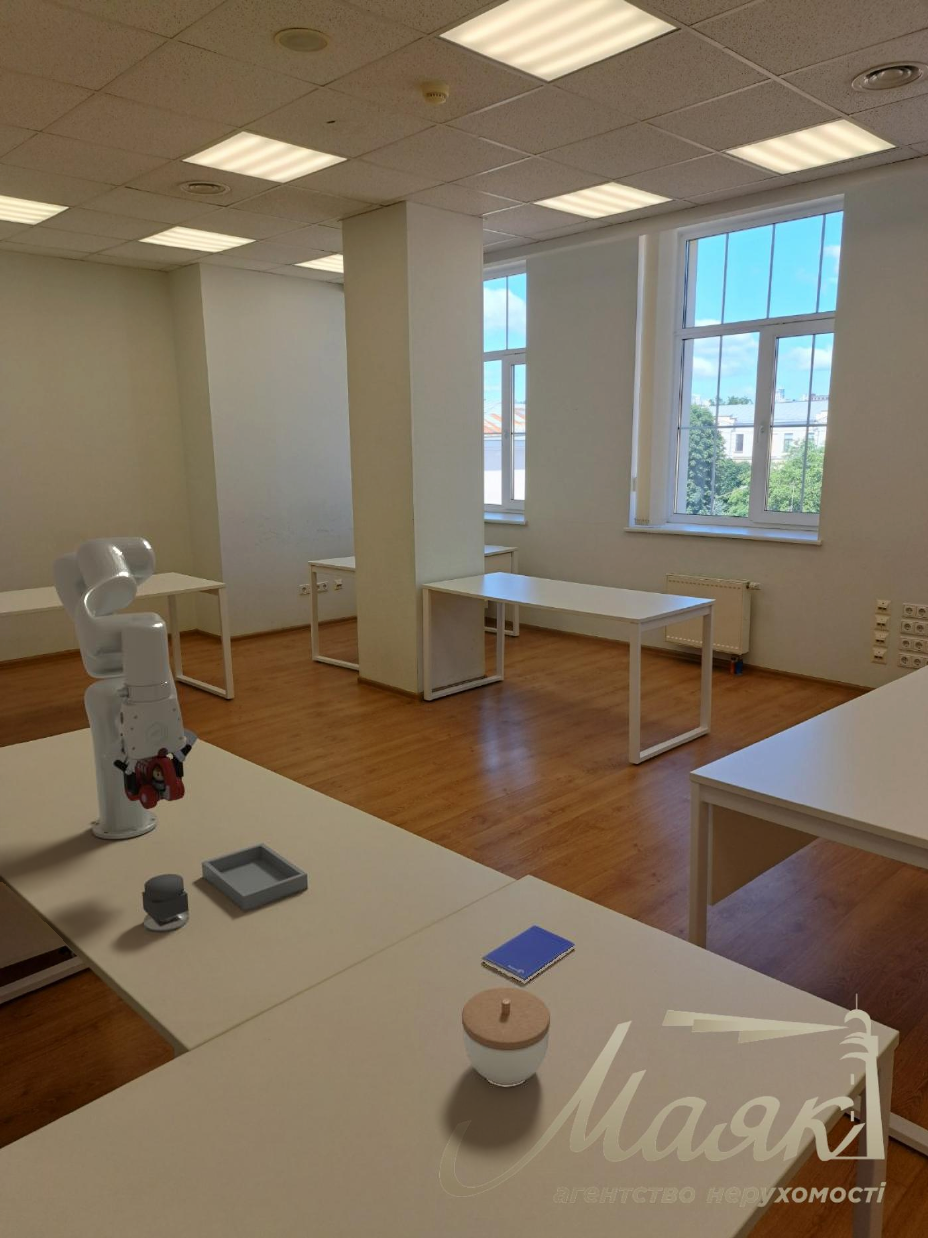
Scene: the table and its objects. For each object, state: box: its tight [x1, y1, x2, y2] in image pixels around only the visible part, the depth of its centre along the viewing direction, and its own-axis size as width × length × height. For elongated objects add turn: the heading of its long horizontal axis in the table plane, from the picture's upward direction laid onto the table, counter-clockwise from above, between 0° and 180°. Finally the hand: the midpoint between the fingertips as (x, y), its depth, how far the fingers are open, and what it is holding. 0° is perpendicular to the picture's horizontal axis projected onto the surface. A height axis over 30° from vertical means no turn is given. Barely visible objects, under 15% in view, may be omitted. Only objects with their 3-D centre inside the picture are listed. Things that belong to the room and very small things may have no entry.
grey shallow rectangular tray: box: [201, 842, 309, 913], centre depth 153 cm, size 17×12×3 cm
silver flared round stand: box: [143, 911, 190, 933], centre depth 140 cm, size 7×7×5 cm
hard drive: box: [481, 925, 576, 981], centre depth 130 cm, size 2×8×12 cm
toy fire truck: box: [124, 748, 186, 810], centre depth 151 cm, size 7×12×10 cm, turn 49°
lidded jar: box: [461, 987, 551, 1085], centre depth 104 cm, size 11×11×9 cm
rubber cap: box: [141, 873, 189, 922], centre depth 139 cm, size 6×6×5 cm
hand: (155, 786), depth 152 cm, fingers closed on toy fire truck, 7 cm apart
